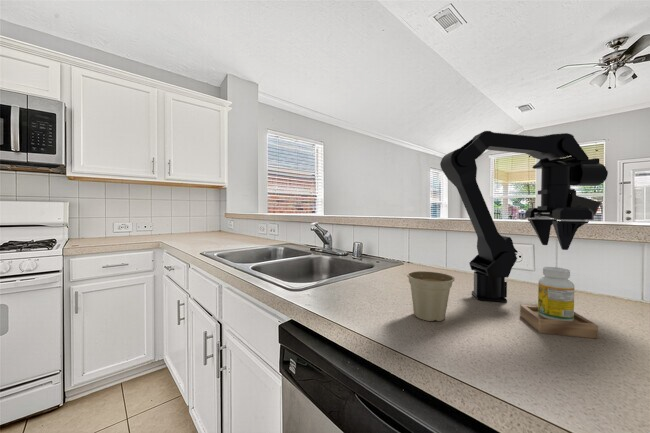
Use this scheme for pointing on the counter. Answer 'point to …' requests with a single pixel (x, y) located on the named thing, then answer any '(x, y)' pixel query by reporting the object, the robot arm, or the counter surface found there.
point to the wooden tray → (559, 324)
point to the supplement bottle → (556, 295)
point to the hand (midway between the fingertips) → (554, 247)
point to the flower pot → (430, 294)
